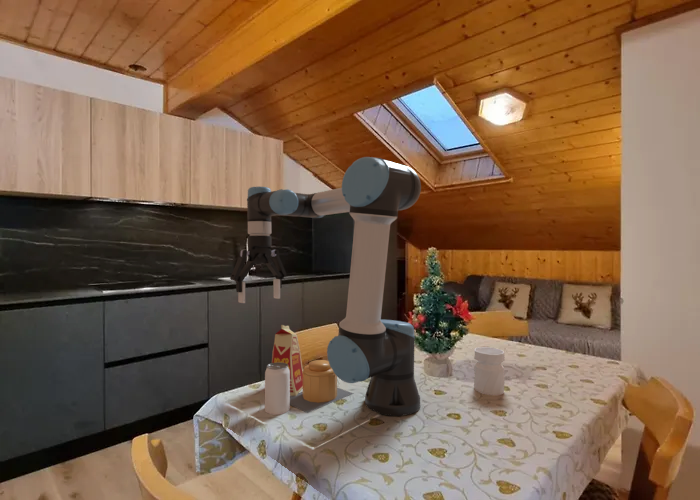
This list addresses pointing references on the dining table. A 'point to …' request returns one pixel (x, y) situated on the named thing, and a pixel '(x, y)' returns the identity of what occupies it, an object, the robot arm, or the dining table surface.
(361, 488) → the dining table surface
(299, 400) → the mat
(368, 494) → the dining table surface
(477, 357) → the pill bottle
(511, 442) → the dining table surface
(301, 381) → the milk carton
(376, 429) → the dining table surface
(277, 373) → the can
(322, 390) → the wooden octagonal canister
